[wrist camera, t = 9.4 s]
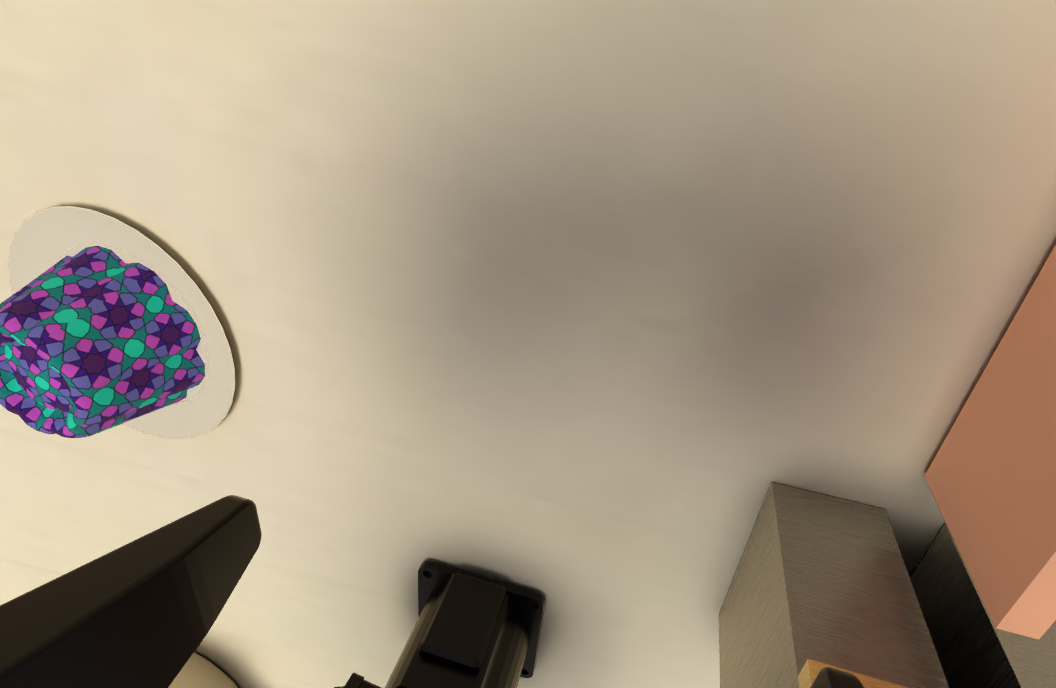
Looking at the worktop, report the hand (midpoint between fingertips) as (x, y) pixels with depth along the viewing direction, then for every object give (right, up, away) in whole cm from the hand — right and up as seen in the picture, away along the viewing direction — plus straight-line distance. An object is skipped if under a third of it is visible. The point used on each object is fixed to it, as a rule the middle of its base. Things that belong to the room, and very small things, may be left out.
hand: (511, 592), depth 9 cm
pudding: (-18, +5, +19) cm, 27 cm away
